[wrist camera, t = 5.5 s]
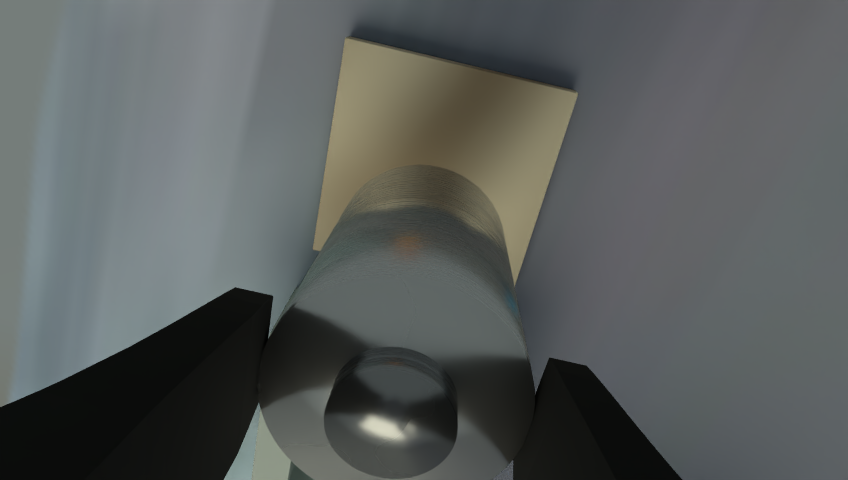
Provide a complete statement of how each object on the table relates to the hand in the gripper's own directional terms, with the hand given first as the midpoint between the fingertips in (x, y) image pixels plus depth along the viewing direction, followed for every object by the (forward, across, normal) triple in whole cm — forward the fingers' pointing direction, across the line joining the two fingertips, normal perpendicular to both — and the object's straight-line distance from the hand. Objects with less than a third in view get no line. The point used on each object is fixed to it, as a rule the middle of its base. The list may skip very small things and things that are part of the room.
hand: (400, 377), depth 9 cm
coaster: (+10, 0, 0) cm, 10 cm away
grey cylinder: (+6, 0, 0) cm, 6 cm away
